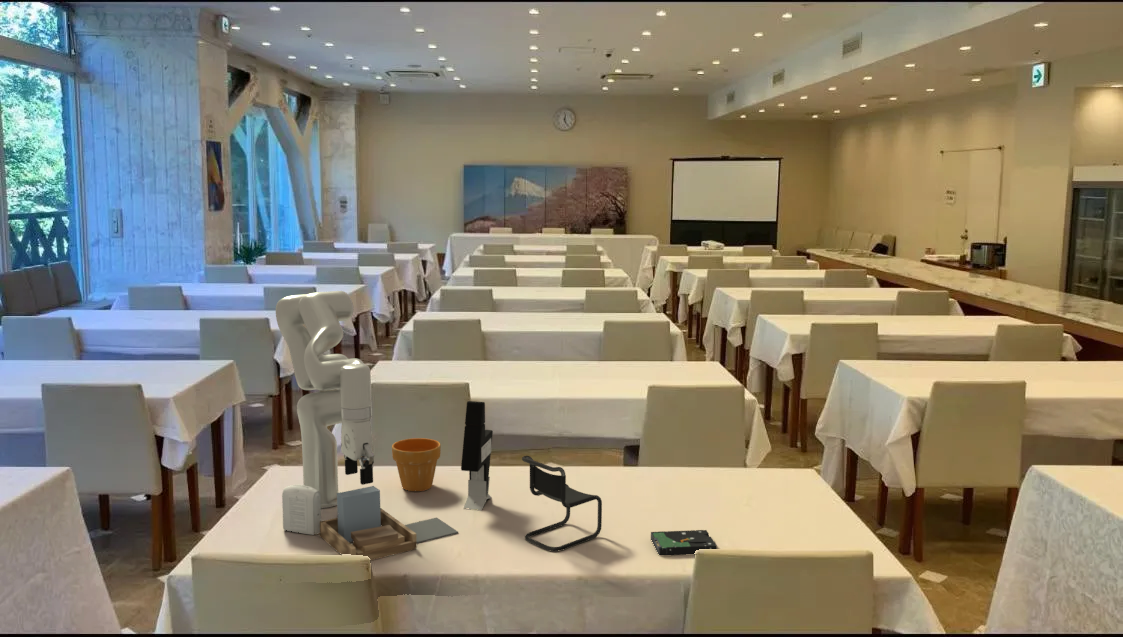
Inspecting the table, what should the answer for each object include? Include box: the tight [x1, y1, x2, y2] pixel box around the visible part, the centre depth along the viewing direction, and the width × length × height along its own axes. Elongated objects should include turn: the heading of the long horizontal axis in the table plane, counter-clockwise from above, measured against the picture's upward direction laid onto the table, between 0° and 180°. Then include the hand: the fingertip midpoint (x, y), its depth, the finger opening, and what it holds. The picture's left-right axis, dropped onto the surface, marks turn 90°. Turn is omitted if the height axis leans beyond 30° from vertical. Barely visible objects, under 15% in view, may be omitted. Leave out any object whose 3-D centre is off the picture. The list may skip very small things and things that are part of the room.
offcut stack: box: [350, 525, 405, 554], centre depth 232 cm, size 8×12×4 cm, turn 125°
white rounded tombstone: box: [281, 484, 322, 536], centre depth 242 cm, size 10×4×12 cm, turn 73°
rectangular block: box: [336, 485, 381, 543], centre depth 239 cm, size 4×10×12 cm, turn 125°
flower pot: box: [391, 437, 441, 492], centre depth 276 cm, size 14×14×13 cm
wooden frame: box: [319, 507, 418, 561], centre depth 236 cm, size 21×17×4 cm
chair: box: [521, 455, 603, 552], centre depth 239 cm, size 13×17×22 cm
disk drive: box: [650, 529, 718, 556], centre depth 235 cm, size 10×3×15 cm
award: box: [460, 400, 494, 511], centre depth 262 cm, size 15×5×30 cm, turn 168°
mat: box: [404, 517, 459, 544], centre depth 244 cm, size 12×12×1 cm
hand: (359, 478), depth 237 cm, fingers open, 9 cm apart
